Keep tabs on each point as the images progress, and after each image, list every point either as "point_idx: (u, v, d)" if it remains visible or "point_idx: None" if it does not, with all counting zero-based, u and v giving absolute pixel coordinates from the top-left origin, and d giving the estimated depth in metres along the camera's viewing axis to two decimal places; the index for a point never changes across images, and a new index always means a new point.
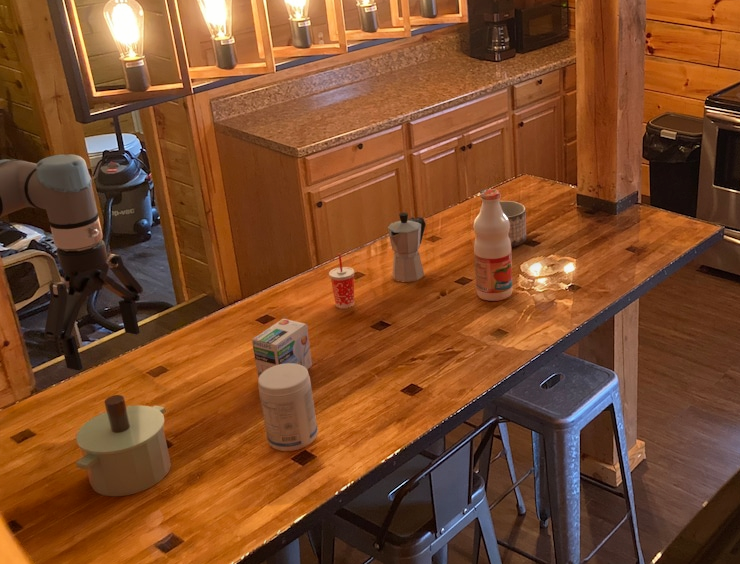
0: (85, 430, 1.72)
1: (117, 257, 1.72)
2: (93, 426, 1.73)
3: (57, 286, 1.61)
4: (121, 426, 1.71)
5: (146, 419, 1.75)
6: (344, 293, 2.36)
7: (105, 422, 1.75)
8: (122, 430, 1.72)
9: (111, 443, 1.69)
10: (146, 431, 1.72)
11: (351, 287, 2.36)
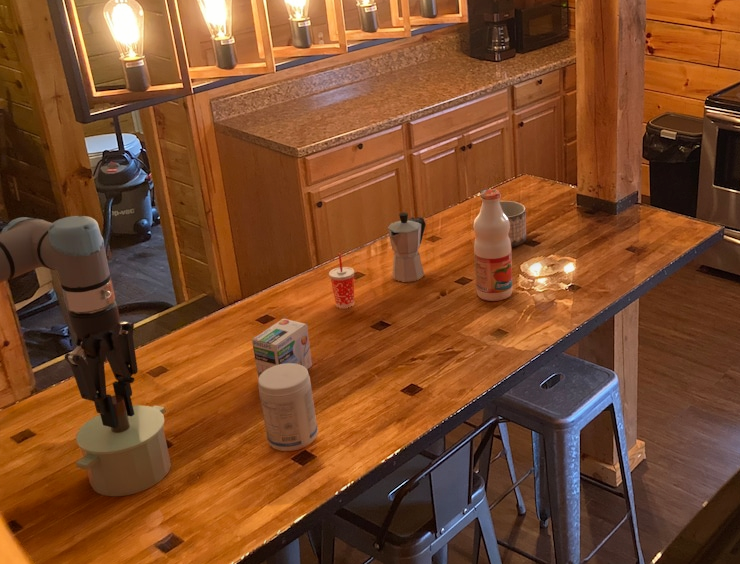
0: (85, 430, 1.72)
1: (131, 324, 1.70)
2: (93, 426, 1.73)
3: (72, 359, 1.60)
4: (121, 426, 1.71)
5: (146, 419, 1.75)
6: (344, 293, 2.36)
7: None
8: (122, 430, 1.72)
9: (111, 443, 1.69)
10: (146, 431, 1.72)
11: (351, 287, 2.36)
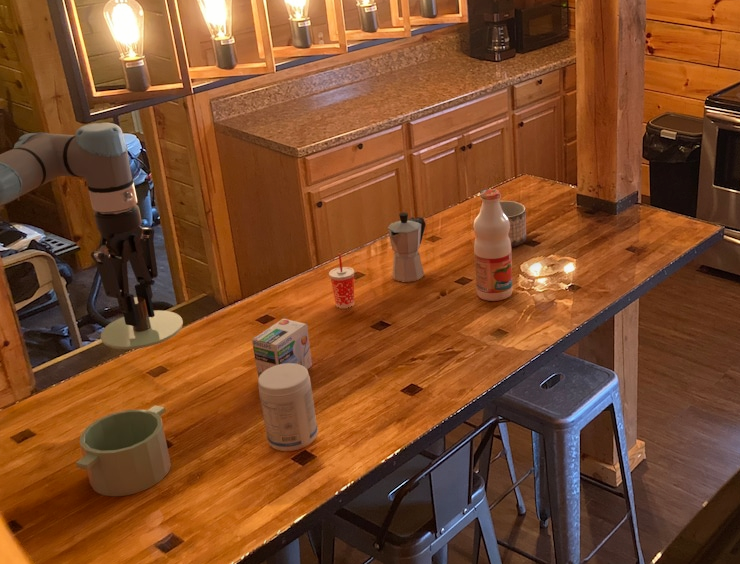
0: (109, 329, 1.84)
1: (151, 229, 1.82)
2: (116, 326, 1.85)
3: (98, 256, 1.72)
4: (142, 325, 1.83)
5: (165, 321, 1.87)
6: (344, 293, 2.36)
7: None
8: (143, 329, 1.83)
9: (133, 340, 1.80)
10: (166, 330, 1.84)
11: (351, 287, 2.36)
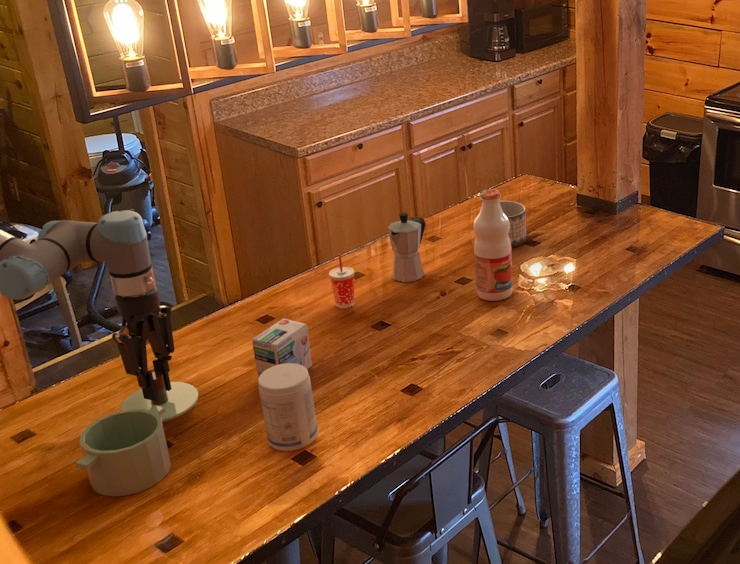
0: (128, 403, 1.92)
1: (168, 308, 1.90)
2: (134, 399, 1.93)
3: (119, 338, 1.80)
4: (160, 399, 1.91)
5: (181, 393, 1.95)
6: (344, 293, 2.36)
7: None
8: (161, 403, 1.91)
9: None
10: (182, 404, 1.92)
11: (351, 287, 2.36)
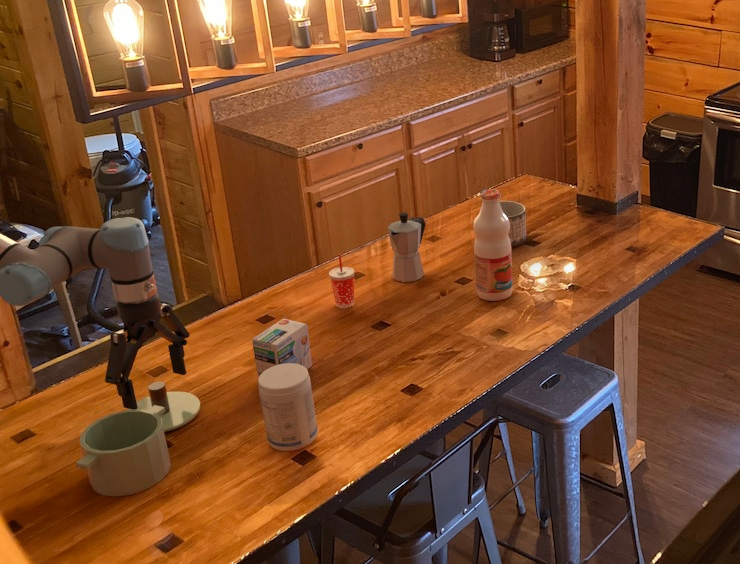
0: None
1: (168, 307, 1.90)
2: None
3: (117, 335, 1.79)
4: None
5: (183, 403, 1.96)
6: (344, 293, 2.36)
7: (147, 406, 1.95)
8: (163, 413, 1.92)
9: None
10: (184, 414, 1.93)
11: (351, 287, 2.36)
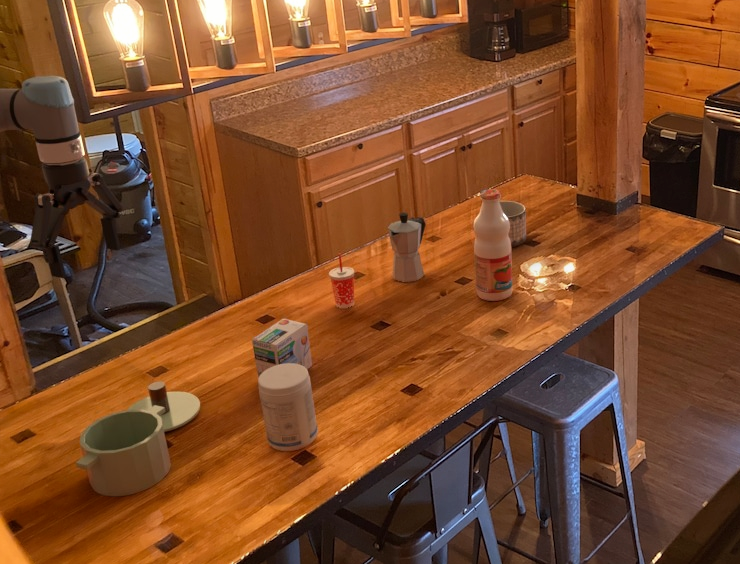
0: None
1: (98, 175, 1.85)
2: None
3: (42, 197, 1.74)
4: None
5: (183, 403, 1.96)
6: (344, 293, 2.36)
7: (147, 406, 1.95)
8: (163, 413, 1.92)
9: None
10: (184, 414, 1.93)
11: (351, 287, 2.36)
